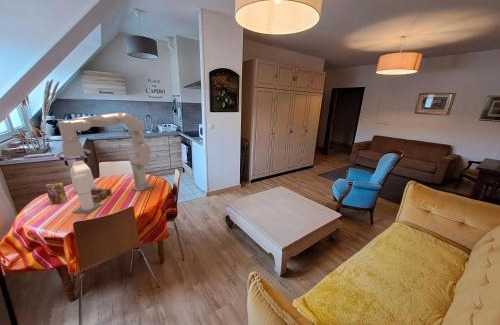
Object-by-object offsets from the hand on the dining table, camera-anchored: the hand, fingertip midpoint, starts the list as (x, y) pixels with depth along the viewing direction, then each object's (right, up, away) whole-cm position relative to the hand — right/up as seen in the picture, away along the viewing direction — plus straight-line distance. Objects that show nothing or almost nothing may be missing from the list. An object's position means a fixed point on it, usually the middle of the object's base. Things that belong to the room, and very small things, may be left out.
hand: (77, 164), depth 134 cm
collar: (-7, -27, +26) cm, 38 cm away
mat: (-1, -32, +10) cm, 34 cm away
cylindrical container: (-1, -32, +10) cm, 34 cm away
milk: (-26, -23, +38) cm, 52 cm away
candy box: (-29, -29, +17) cm, 45 cm away
